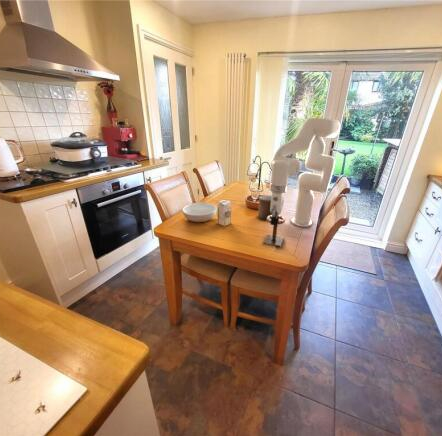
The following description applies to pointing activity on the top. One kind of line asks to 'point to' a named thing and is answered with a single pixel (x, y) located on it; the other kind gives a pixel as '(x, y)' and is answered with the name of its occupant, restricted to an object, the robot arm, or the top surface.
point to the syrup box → (224, 212)
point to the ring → (278, 221)
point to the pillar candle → (264, 207)
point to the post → (274, 238)
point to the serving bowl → (199, 211)
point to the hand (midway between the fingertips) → (274, 223)
